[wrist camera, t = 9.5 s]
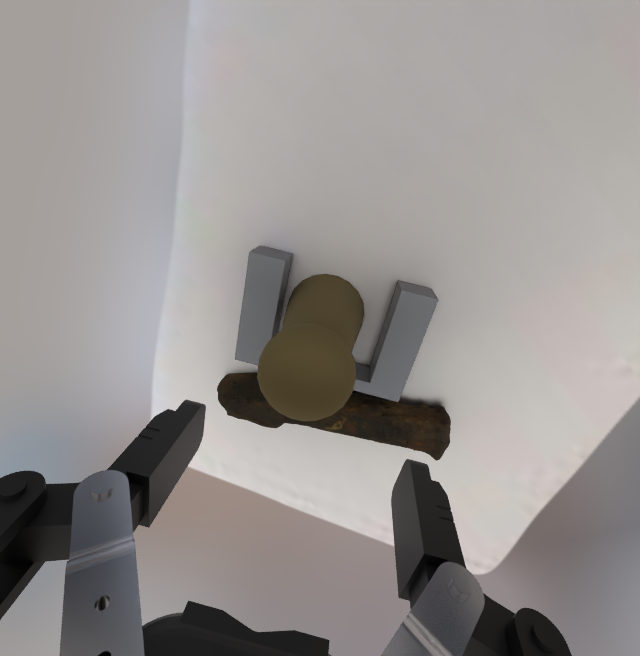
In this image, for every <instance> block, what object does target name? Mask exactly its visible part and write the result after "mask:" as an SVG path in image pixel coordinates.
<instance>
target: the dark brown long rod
mask: <svg viewBox="0 0 640 656" xmlns="http://www.w3.org/2000/svg"><path fill="white" fill-rule="evenodd" d="M257 374H258V373H240V374H229V375H226V376H225V377H224V378H223V379H222V380H221V382H220V383H219V385H218V388H217V391H218V400H219V402H220V404H221V405H222V406H223V407H224V408H225V410H226V411H227V415H229V416H233V417H235V418H238V419H244V420H248V421H251V422H253V423H256V424H258V425H261V426H264V427H269V428H278V427H279V426H281V425H282V424H283V423H290V424H299V425H304V426H310V427H312V428H317V429H321V430H325V431H329V432H334V433H340V434H344V435H348V436H354V437H358V438H363V439H367V440H372V441H375V442H379V443H386V444H390V445H396V446H401V447H405V448H410V449H413V450H414V451H415V450H416V451H422V452H425V453H427V454H429V455H430V456H431V457H433V458H434V459H435V460H439V459H440V458H441V457H442V455H443V453H444V451H445V450H446V448H447V447H448V446H449V443H450V430H451V429H450V425H451V420H450V417H449V415H448V413H447V412H446V410H445V408H444V407H443V406H438V407H436V408H433V409H431V408H429V407H428V406H426V405H425V404H423V403H420V404H419V405H410V404H403V403H400V402H396V401H390V400H381V399H376V398H372V397H368V396H364V395H363V394H361V393H357V394H354V393H352V394H351V396H350V397H349V399H348V400H347V402H346V403H345V405H344V406H343V407H342V408H341V409H339V410H338V411H337V412H335V413H334V414H333V415H331V416H329V417H326V418H323V419H320V420H317V421H300V420H295V419H291V418H289V417H287V416H285V415H283V414H280V413H279V412H278V411H276V410H275V409H274V408H273V407H272V406H271V405H270V404H269V403H268V401H267V400H266V398H265V397H264V395H263V393H262V392H261V390H260V386H259V382H258V378H257Z"/></svg>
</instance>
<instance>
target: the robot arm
mask: <svg viewBox="0 0 640 656" xmlns="http://www.w3.org/2000/svg"><path fill="white" fill-rule="evenodd" d="M205 410H206V406H205V404H201V403H197V402H194V401H190V400H185V401H184V402H183V403H182V404H181V405H180V406H179V408H178V409H177V410H176V411H173V410H169V409H167V410H166V411H164V412H162V413H160V414H158V415H157V416H155V417H154V418H153V419H152V420H151V421H150V423H149V424H148V425H147V426H146V428H144V429H143V430H142V432H141V433H140V434H139V436H138V437H136V438H135V439H134V441H133V442H132V443H131V444H130V445H129V446H128V447H127V448H126V449H125V451H124V452H123V453H122V454H121V455H120V456H119V457H118V458H117V459H116V461H115V462H114V463H113V464H112V465H111V466H110V467H109V468H108V469H107V470H105V471H100V472H97V473H94V474H92V475H90V476H88V477H87V478H86V479H84V480H83V481H82V482H80V483H68V484H67V483H66V484H46V482H45V479H44V477H43V476H42V475H41V474H40V473H38V472H35V471H20V472H15V473H12V474H9V475H6V476H4V477H2V478H0V619H1V618H2V617H3V616H4V614H5V613H6V612H7V610H8V609H9V608H10V607H11V605H12V604H13V603H14V601H15V600H16V599H17V597H18V596H19V595H20V594H21V592H22V591H23V590H24V588H25V587H26V586H27V585H28V583H29V582H30V580H31V579H32V578H33V577H34V575H35V574H36V573H37V572H38V570H39V569H40V568H41V566H42V565H43V564H44V563H45V561H56V560H66V559H69V561H68V562H67V565H66V571H65V585H64V600H63V613H62V628H61V643H60V656H331V655H330V654H328V650H329V640H327V639H323V638H320V637H316V636H313V635H309V634H305V633H301V632H298V631H295V630H293V631H274V632H255V631H253V630H251V629H250V628H248V627H247V626H245V625H244V624H242V623H241V622H239V621H238V620H236V619H235V618H233V617H232V616H230V615H229V614H227V613H226V612H224V611H223V610H219V609H216V608H213V607H209V606H205V605H202V604H198V603H195V602H191V601H188V603H187V605H186V607H185V610H184V612H183V613H175V614H170V615H166V616H163V617H160V618H157V619H155V620H153V621H151V622H148V623H147V624H145V625H144V626H142V619H141V608H140V597H139V586H138V574H137V562H136V551H135V541H134V537H133V532H134V531H135V529H136V528H137V526H138V525H142V526H145V527H150V525H151V523H152V522H153V520H154V519H155V517H156V515H157V514H158V512H159V511H160V509H161V507H162V506H163V504H164V503H165V501H166V499H167V498H168V496H169V495H170V493H171V491H172V490H173V488H174V486H175V485H176V483H177V482H178V480H179V479H180V477H181V475H182V474H183V472H184V471H185V469H186V468H187V466H188V464H189V463H190V461H191V460H192V458H193V456H194V455H195V453H196V452H197V450H198V448H199V446H200V443H201V441H202V437H203V430H204V420H205ZM391 505H392V518H393V531H394V543H395V556H396V567H397V568H396V569H397V581H398V594H399V598H402V599H405V600H409V601H410V607H411V611H410V612H409V614H408V615H407V616H406V618H405V619H404V621H403V622H402V624H401V625H400V627H399V629H398V630H397V632H396V633H395V635H394V636H393V638H392V639H391V641H390V642H389V644H388V645H387V647H386V648H385V650H384V651H383V653H382V655H381V656H572V655H571V653H570V650H569V648H568V645H567V643H566V641H565V639H564V637H563V636H562V634H561V633H560V631H559V630H558V629H557V628H556V627H555V625H554V624H553V623H552V622H551V621H550V620H549V619H548V618H547V617H545V616H544V615H542V614H541V613H539V612H538V611H536V610H533V609H530V608H522V609H520V610H519V611H518V612H517V613H516V614H515V613H513V612H511V611H510V610H508V609H507V608H505V607H503V606H502V605H500V604H498V603H497V602H495V601H493V600H492V599H490V598H489V597H488V596H486V595H485V594H484V593H483V591H482V588H481V586H480V584H479V583H478V581H477V580H476V578H475V577H474V576H473V575H472V574H471V573H470V572H469V571H468V570H467V569H466V566H465V562H464V558H463V555H462V551H461V547H460V543H459V539H458V535H457V531H456V527H455V523H453V521H454V520H453V516H452V512H451V511H450V510H451V508H450V504H449V500H448V496H447V494H446V493H445V491H444V489H443V488H442V486H441V485H440V483H439V482H436V481H433V480H431V477H430V472H429V468H428V465H427V464H424V463H421V462H417V461H413V460H409V459H407V460H406V461H405V463H404V465H403V467H402V469H401V471H400V474H399V476H398V478H397V480H396V483H395V485H394V487H393V491H392V498H391Z"/></svg>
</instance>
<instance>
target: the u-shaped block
mask: <svg viewBox="0 0 640 656" xmlns="http://www.w3.org/2000/svg"><path fill="white" fill-rule="evenodd" d="M292 255H293V254H291V253H287V252H284V251H280V250H276V249H272V248H268V247H264V246H258V247H257V248H255V249H253V250H252V251H250V252H249V258H248V266H247V273H246V280H245V288H244V295H243V302H242V310H241V317H240V324H239V332H238V339H237V346H236V354H235V359H236V360H239V361H243V362H247V363H251V364H255V365H258V364H259V358H260V356H261V354H262V352H263V350H264V348H265V346H266V344H267V343H268V341H269V340H270V339H272V338H273V337H274V336H275V335H276V334H277V333H278V328H279V323H280V318H281V313H282V307H283V302H284V297H285V292H286V286H287V281H288V276H289V271H290V265H291V260H292ZM437 302H438V298H437V296H436V295H435V293H434V292H433V290H432V289H430V288H426V287H422V286H418V285H414V284H410V283H406V282H402V281H398V283H397V286H396V289H395V292H394V295H393V298H392V301H391V304H390V307H389V310H388V313H387V316H386V319H385V322H384V325H383V328H382V331H381V334H380V337H379V340H378V343H377V347H376V350H375V353H374V356H373V359H372V362H371V365H370V367H369V366H365V365H361V364H357V363H355V368H356V380H355V384H354V389H353V390H354V391H358V392H362V393H366V394H369V395H373V396H377V397H381V398H385V399H388V400H392V401H396V402H399V399H400V397H401V394H402V391H403V389H404V386H405V384H406V381H407V379H408V376H409V374H410V371H411V369H412V366H413V364H414V361H415V358H416V356H417V353H418V351H419V348H420V346H421V343H422V341H423V338H424V336H425V333H426V330H427V328H428V325H429V323H430V320H431V318H432V315H433V313H434V310H435V308H436V305H437Z"/></svg>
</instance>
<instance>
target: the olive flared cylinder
mask: <svg viewBox="0 0 640 656" xmlns="http://www.w3.org/2000/svg"><path fill="white" fill-rule="evenodd" d="M363 318H364V305H363V301H362V299H361V297H360V295H359V292H358V291H357V290H356V289H355V288H354V287H353V286H352V285H351V284H350V282H348V281H346V280H344V279H342V278H340V277H339V276H334V275H328V274H322V275H314V276H311V277H309V278H307V279H305V280H303V281H302V282H301V283H300V284H299V285H298V286H297V287H295V288H294V290H293V292H292V294H291V296H290V298H289V301H288V305H287V309H286V314H285V318H284V322H283V326H282V330H281V331H280V332H278V333H277V334H276V335H275V336H274V337H273V338H272V339H270V340H269V341H268V343H267V344H266V346H265V348H264V350H263V352H262V354H261V356H260V358H259V364H258V374H257V378H258V382H259V386H260V390H261V392H262V393H263V395H264V397H265V398H266V400H267V401H268V403H269V404H270V405H271V406H272V407H273V408H274V409H275V410H276V411H278V412H279V413H280V414H283V415H285V416H287V417H289V418H291V419H295V420H300V421H317V420H320V419H323V418H326V417H329V416H331V415H333V414H334V413H335V412H337V411H338V410H339V409H341V408H342V407H343V406H344V405H345V403H346V402H347V400H348V399H349V397H350V396H351V394H352V392H353V389H354V384H355V380H356V368H355V360H354V357H353V355H352V353H351V352H352V349H353V347H354V344H355V341H356V339H357V336H358V334H359V331H360V328H361V326H362V322H363Z"/></svg>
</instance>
